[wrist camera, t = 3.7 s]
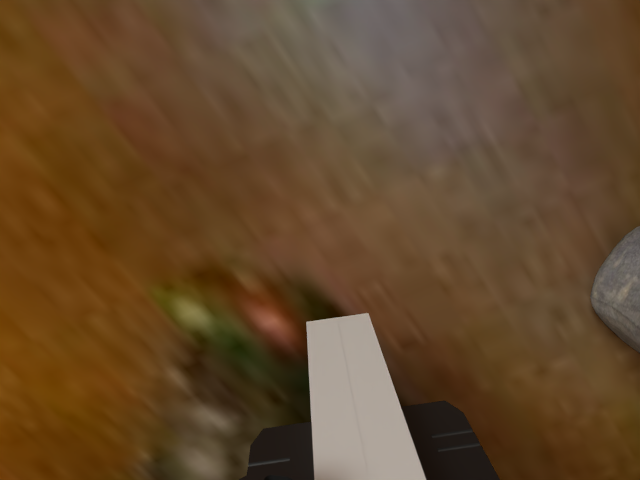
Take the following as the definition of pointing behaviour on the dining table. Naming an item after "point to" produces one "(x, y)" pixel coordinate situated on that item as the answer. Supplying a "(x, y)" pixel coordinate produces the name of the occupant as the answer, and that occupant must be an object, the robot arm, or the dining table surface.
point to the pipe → (620, 290)
